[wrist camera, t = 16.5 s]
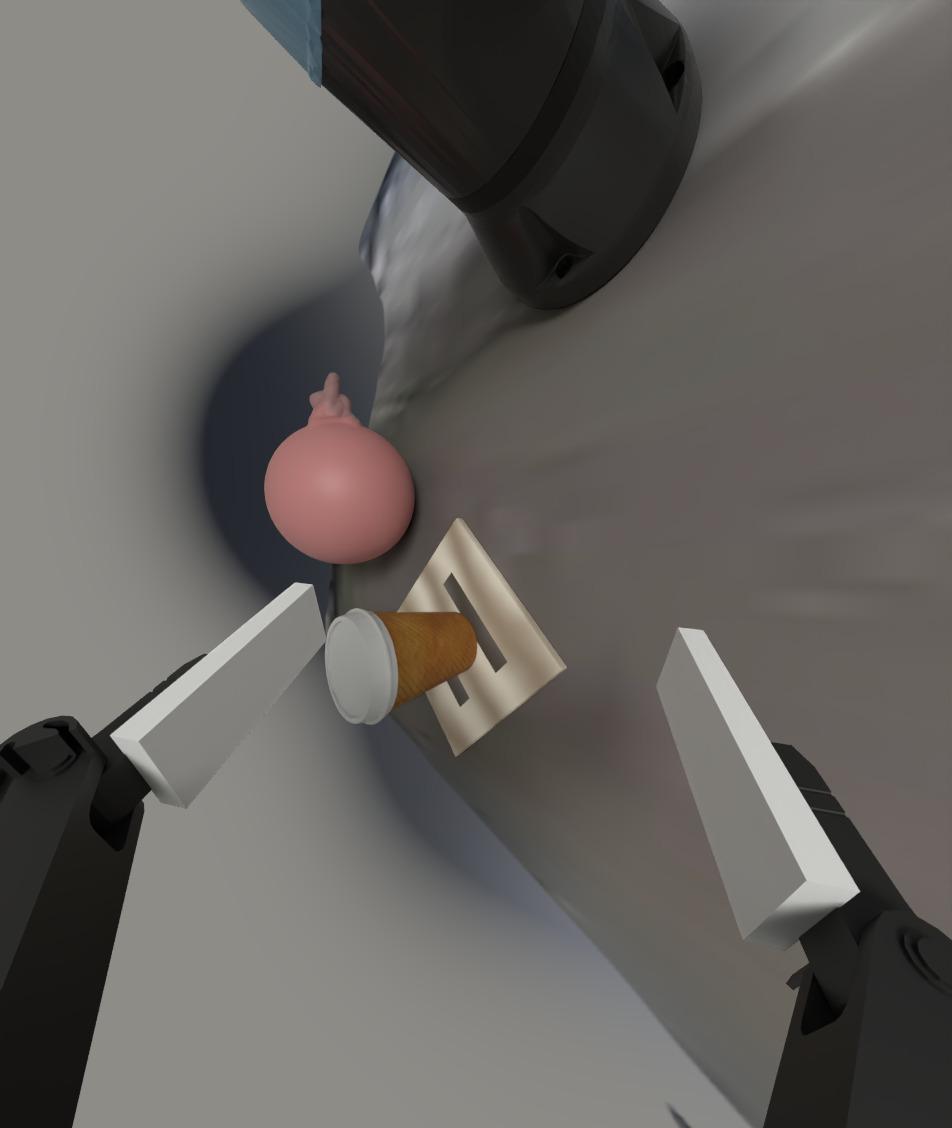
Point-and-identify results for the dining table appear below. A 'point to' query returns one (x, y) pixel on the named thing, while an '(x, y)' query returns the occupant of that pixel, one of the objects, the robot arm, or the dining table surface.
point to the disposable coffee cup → (393, 658)
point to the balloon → (338, 485)
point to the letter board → (482, 639)
